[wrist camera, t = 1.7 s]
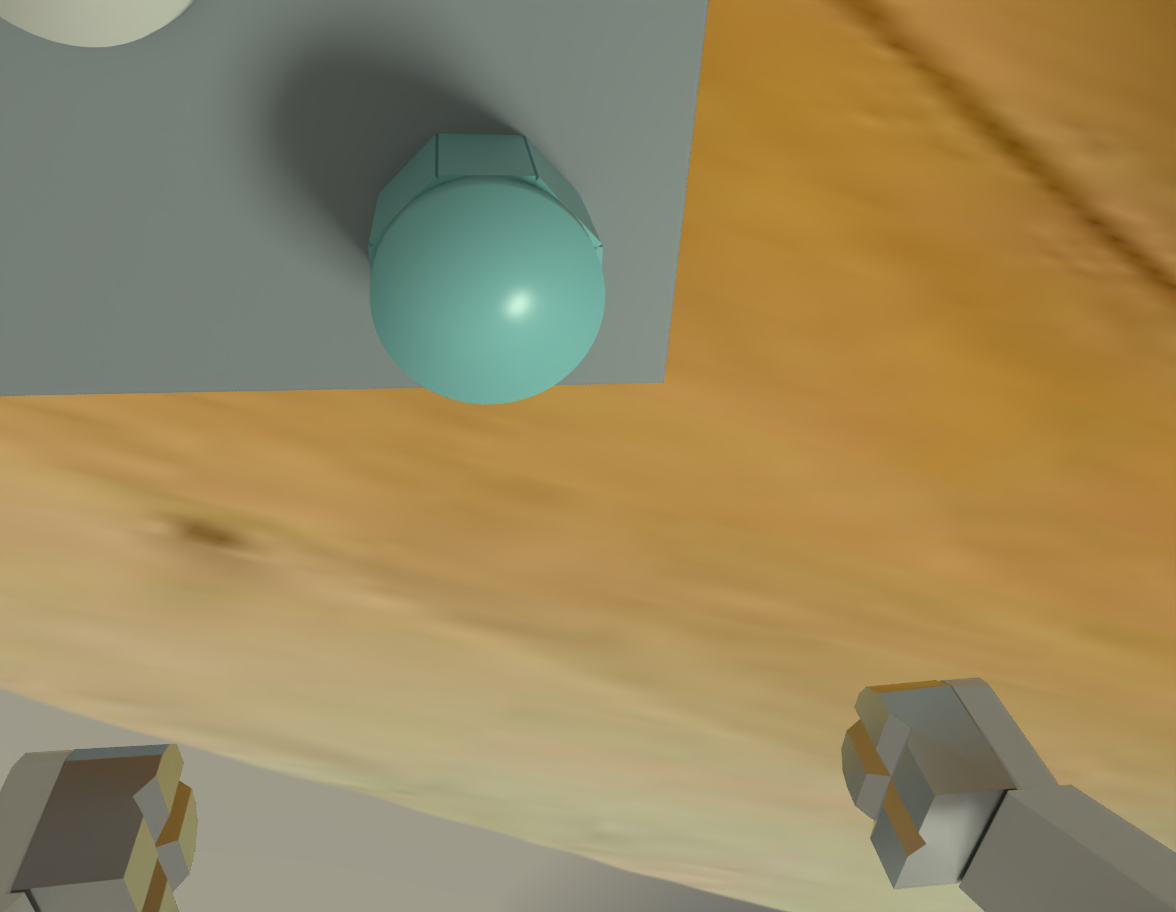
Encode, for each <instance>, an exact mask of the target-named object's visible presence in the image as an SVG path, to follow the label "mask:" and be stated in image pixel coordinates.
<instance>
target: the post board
mask: <svg viewBox="0 0 1176 912" xmlns="http://www.w3.org/2000/svg"><path fill="white" fill-rule="evenodd" d="M708 1H709V0H0V396H24V395H75V394H126V393H176V392H227V391H278V390H329V389H380V388H425V387H423V386H422V385H420V384H419V383H417V382H416V381H414V380H413V379H412V378H410V377H409V376H408V375H407V374H406V373H405V372H404V371H403V370H401V369H400V368H399V367H398V365H397V364H396V363H395V362H394V361H393V359H392V358H391V357H390V356H389V354H388V353H387V351H386V349H385V348H384V346H383V345H382V343H381V341H380V338H379V337H378V336H377V332H375V326H374V323H373V319H372V314H371V308H370V291H369V288H370V281H371V275H370V264H369V252H368V243H369V238H370V233H371V228H372V223H373V218H374V213H375V208H376V203H377V197H378V195H379V193H380V192H381V190H382V189H383V188H384V187H385V186H386V185H387V184H388V183H389V182H390V181H391V180H392V179H393V178H394V177H395V176H396V175H397V174H398V173H399V172H400V171H401V170H402V169H403V168H404V166H405V165H406V164H407V163H408V162H409V161H410V160H411V159H412V158H413V157H414V156H415V155H416V154H417V153H418V152H419V151H420V150H421V149H422V148H423V147H424V146H425V145H426V144H427V142H428V141H429V140H430V139H431V138H432V137H433V136H434V135H436V136H437V137H438V133H452V134H494V135H523V138H525V137H526V138H527V139H528V140H529V141H530V142H531V143H532V144H533V145H534V146H535V147H536V148H537V149H538V151H539V152H540V153H541V154H542V155H543V156H544V157H545V158H546V159H547V160H548V161H549V162H550V163H551V165H552V166H553V167H554V168H555V169H556V170H557V171H558V172H559V173H560V174H561V175H562V176H563V178H564V179H565V180H566V181H567V182H568V183H569V184H570V185H571V186H572V187H573V188H574V189H575V190H576V192H577V193H578V194H579V195H580V196H581V198H582V200H583V202H584V205H585V207H586V209H587V211H588V214H589V216H590V218H591V220H592V223H593V225H594V227H595V229H596V232H597V234H598V236H599V238H600V241H601V243H602V246H603V256H602V272H603V277H604V284H605V306H604V313H603V318H602V322H601V325H600V329H599V331H598V334H597V336H596V338H595V341H594V343H593V344H592V346H591V348H590V349H589V351H588V353H587V354H586V356H585V357H584V358H583V359H582V361H581V362H580V363H579V364H578V366H576V367H575V368H574V369H573V370H572V371H571V372H570V373H569V374H568V375H567V376H566V377H565V378H563V379H562V380H561V381H559V382H558V383H557V384H555V385H583V384H633V383H664V375H665V367H666V358H667V350H668V341H669V333H670V324H671V316H672V307H673V299H674V290H675V282H676V273H677V265H678V256H679V248H680V239H681V231H682V222H683V214H684V205H685V197H686V188H687V180H688V171H689V163H690V154H691V146H692V137H693V129H694V120H695V112H696V103H697V95H698V86H699V78H700V69H701V61H702V52H703V44H704V35H705V27H706V18H707V9H708Z"/></svg>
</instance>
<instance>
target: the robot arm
mask: <svg viewBox="0 0 1176 912" xmlns="http://www.w3.org/2000/svg"><path fill="white" fill-rule="evenodd" d="M855 709H856V711H857V713H858V715H859V717H860V720H859V721H857V722H856V723H855V724H854V725H853V726H852V727H850V728H849V729H848V730H847V731H846V734H845V738H844V742H843V745H842V749H841V750H842V769H843V774H844V777H845V781H846V785H847V788H848V790H849V793H850V795H851V797H852V799H853V802H854V804H855V806H856V807H857V808H859V809H860V810H861V811H862V812H864V813H865V814H866V815H868V816H869V817H870V818H871V819H873V820H874V825H873V829H872V833H871V837H870V839H871V841H872V844H873V846H874V848H875V850H876V852H877V854H878V856H879V859H880V861H881V863H882V865H883V867H884V869H885V871H886V874H887V876H888V878H889V880H890V882H891V884H892V887H893V889H901V888H912V887H923V886H934V885H946V884H957V883H960V885H959V888H960V889H961V890H962V891H963V892H965V893H966V894H967V895H968V896H969V897H970V898H971V899H972V900H973V901H974V902H975V903H976V904H977V905H978V906H980V907H981V908H982V909H983V910H984V911H985V912H1176V853H1175V852H1174V851H1172V850H1171V849H1169V848H1168V847H1166V846H1165V845H1163V844H1161V843H1160V842H1158V841H1157V840H1155V839H1154V838H1152V837H1151V836H1149V835H1148V834H1146V833H1145V832H1143V831H1141V830H1140V829H1138V828H1137V827H1135V826H1134V825H1132V824H1131V823H1129V822H1128V821H1126V820H1125V819H1123V818H1121V817H1120V816H1118V815H1117V814H1115V813H1114V812H1112V811H1111V810H1109V809H1108V808H1106V807H1105V806H1103V805H1101V804H1100V803H1098V802H1097V801H1095V800H1094V799H1092V798H1091V797H1089V796H1088V795H1086V794H1084V793H1083V792H1081V791H1080V790H1078V789H1077V788H1075V787H1074V786H1072V785H1059V784H1058V782H1057V781H1056V779H1055V778H1054V776H1053V775H1052V774H1051V772H1050V771H1049V769H1048V768H1047V766H1046V765H1045V764H1044V762H1043V761H1042V759H1041V758H1040V757H1039V755H1038V754H1037V752H1036V751H1035V749H1034V748H1033V747H1032V745H1031V744H1030V742H1029V741H1028V739H1027V738H1026V737H1025V735H1024V734H1023V732H1022V731H1021V729H1020V728H1019V727H1018V725H1017V724H1016V722H1015V721H1014V719H1013V718H1012V717H1011V715H1010V714H1009V712H1008V711H1007V710H1006V708H1005V707H1004V705H1003V704H1002V702H1001V701H1000V700H999V698H998V697H997V695H996V694H995V692H994V691H993V690H992V688H991V687H990V686H989V684H988V683H986V682H985V681H983V680H982V679H981V678H967V679H954V680H942V681H937V680H932V681H922V682H911V683H901V684H890V685H880V686H869V687H866V688H865V689H863V690H862V691H861V692H860V693H859V695H858V698H857V701H856V704H855ZM183 764H184V762H183V759H182V757H181V754H180V751H179V749H178V746H177V744H164V745H146V746H129V747H111V748H92V749H75V750H62V751H47V752H33V753H25V754H24V755H23V756H22V757H21V758H20V759H19V760H18V762H17V763H16V764H15V765H14V766H13V767H12V768H11V770H10V772H9V774H8V776H7V779H6V780H5V783H4V785H3V787H2V789H1V791H0V912H179V910H178V907H177V904H176V901H175V899H174V896H173V893H172V892H173V891H174V890H175V889H176V888H177V887H178V886H179V885H180V884H181V883H182V882H183V881H184V879H185V878H186V877H187V876H188V875H189V874H190V869H191V866H192V861H193V857H194V852H195V847H196V834H197V822H198V821H197V810H196V802H195V798H194V795H193V791H192V789H191V788H190V787H189V786H187V785H185V784H184V783H182V782H180V781H179V778H180V775H181V771H182V768H183Z"/></svg>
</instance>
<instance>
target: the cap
mask: <svg viewBox="0 0 1176 912" xmlns="http://www.w3.org/2000/svg"><path fill="white" fill-rule="evenodd" d="M368 252H369V264H370V275H371V281H370V288H369V291H370V308H371V314H372V319H373V323H374V326H375V332H377V336H378V337H379V338H380V341H381V343H382V345H383V346H384V348H385V349H386V351H387V353H388V354H389V356H390V357H391V358H392V359H393V361H394V362H395V363H396V364H397V365H398V367H399V368H400V369H401V370H403V371H404V372H405V373H406V374H407V375H408V376H409V377H410V378H412V379H413V380H414V381H416V382H417V383H419V384H420V385H422V386H423V387H425V388H427V389H429V390H431V391H432V392H434V393H437V394H439V395H442V396H444V397H447V398H450V399H454V400H457V401H461V402H467V403H474V404H500V403H508V402H513V401H518V400H522V399H525V398H528V397H531V396H534V395H536V394H538V393H540V392H543V391H545V390H547V389H548V388H550V387H552V386H553V385H555V384H557V383H558V382H559V381H561V380H562V379H563V378H565V377H566V376H567V375H568V374H569V373H570V372H571V371H572V370H573V369H574V368H575V367H576V366H578V364H579V363H580V362H581V361H582V359H583V358H584V357H585V356H586V354H587V353H588V351H589V349H590V348H591V346H592V344H593V343H594V341H595V338H596V336H597V334H598V331H599V329H600V325H601V322H602V318H603V313H604V306H605V284H604V277H603V272H602V256H603V246H602V243H601V241H600V238H599V236H598V234H597V232H596V229H595V227H594V225H593V223H592V220H591V218H590V216H589V214H588V211H587V209H586V207H585V205H584V202H583V200H582V198H581V196H580V195H579V194H578V193H577V192H576V190H575V189H574V188H573V187H572V186H571V185H570V184H569V183H568V182H567V181H566V180H565V179H564V178H563V176H562V175H561V174H560V173H559V172H558V171H557V170H556V169H555V168H554V167H553V166H552V165H551V163H550V162H549V161H548V160H547V159H546V158H545V157H544V156H543V155H542V154H541V153H540V152H539V151H538V149H537V148H536V147H535V146H534V145H533V144H532V143H531V142H530V141H529V140H528V139H527V138H526V137H525V138H523V135H494V134H452V133H438V137H437V136H436V135H434V136H433V137H432V138H431V139H430V140H429V141H428V142H427V144H426V145H425V146H424V147H423V148H422V149H421V150H420V151H419V152H418V153H417V154H416V155H415V156H414V157H413V158H412V159H411V160H410V161H409V162H408V163H407V164H406V165H405V166H404V168H403V169H402V170H401V171H400V172H399V173H398V174H397V175H396V176H395V177H394V178H393V179H392V180H391V181H390V182H389V183H388V184H387V185H386V186H385V187H384V188H383V189H382V190H381V192H380V193H379V195H378V197H377V203H376V208H375V213H374V218H373V223H372V228H371V233H370V238H369V243H368Z"/></svg>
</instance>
